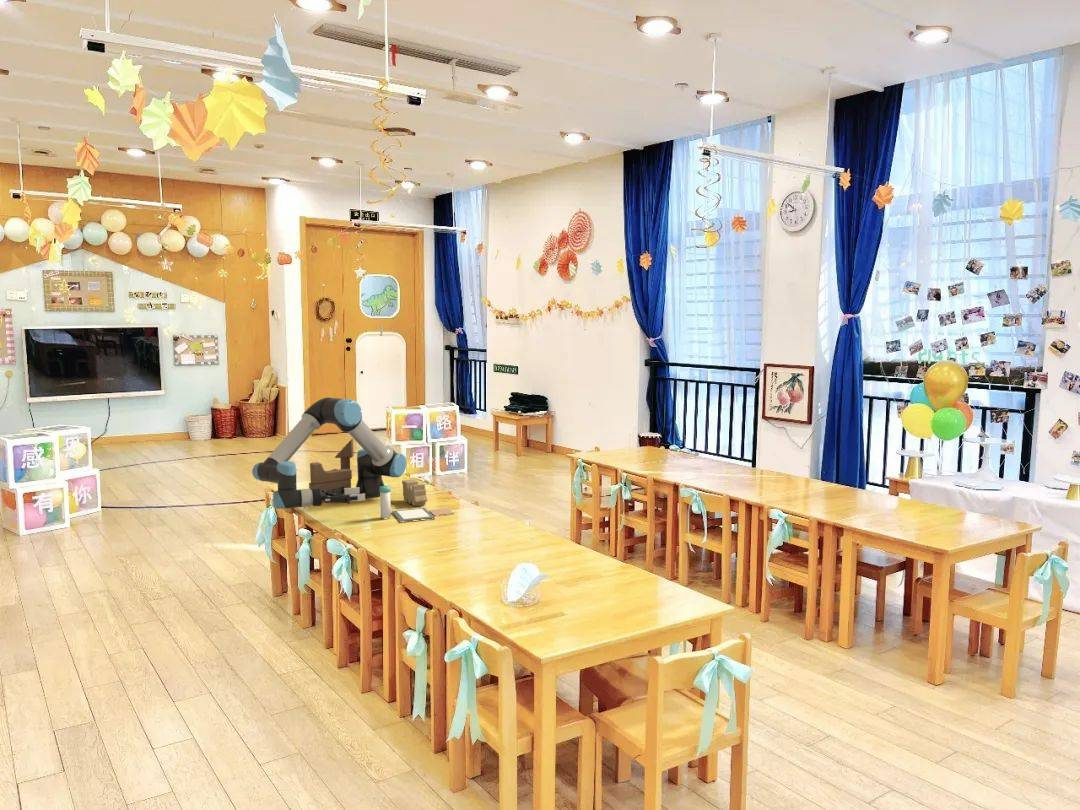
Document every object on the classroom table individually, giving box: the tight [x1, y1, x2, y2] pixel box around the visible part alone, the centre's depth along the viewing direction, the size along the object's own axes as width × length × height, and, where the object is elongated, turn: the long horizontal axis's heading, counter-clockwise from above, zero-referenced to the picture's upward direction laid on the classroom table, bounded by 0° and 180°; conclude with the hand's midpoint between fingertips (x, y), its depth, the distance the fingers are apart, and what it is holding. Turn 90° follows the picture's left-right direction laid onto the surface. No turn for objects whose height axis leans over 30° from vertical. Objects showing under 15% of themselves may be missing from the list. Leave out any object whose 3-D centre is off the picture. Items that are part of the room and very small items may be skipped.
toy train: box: [401, 479, 428, 507], centre depth 375 cm, size 6×17×10 cm, turn 31°
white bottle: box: [379, 485, 392, 519], centre depth 348 cm, size 5×5×14 cm
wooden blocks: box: [308, 438, 355, 504], centre depth 385 cm, size 24×20×28 cm
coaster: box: [428, 507, 455, 517], centre depth 358 cm, size 9×9×1 cm
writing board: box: [391, 507, 436, 523], centre depth 353 cm, size 18×15×1 cm
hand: (362, 493), depth 344 cm, fingers open, 13 cm apart
